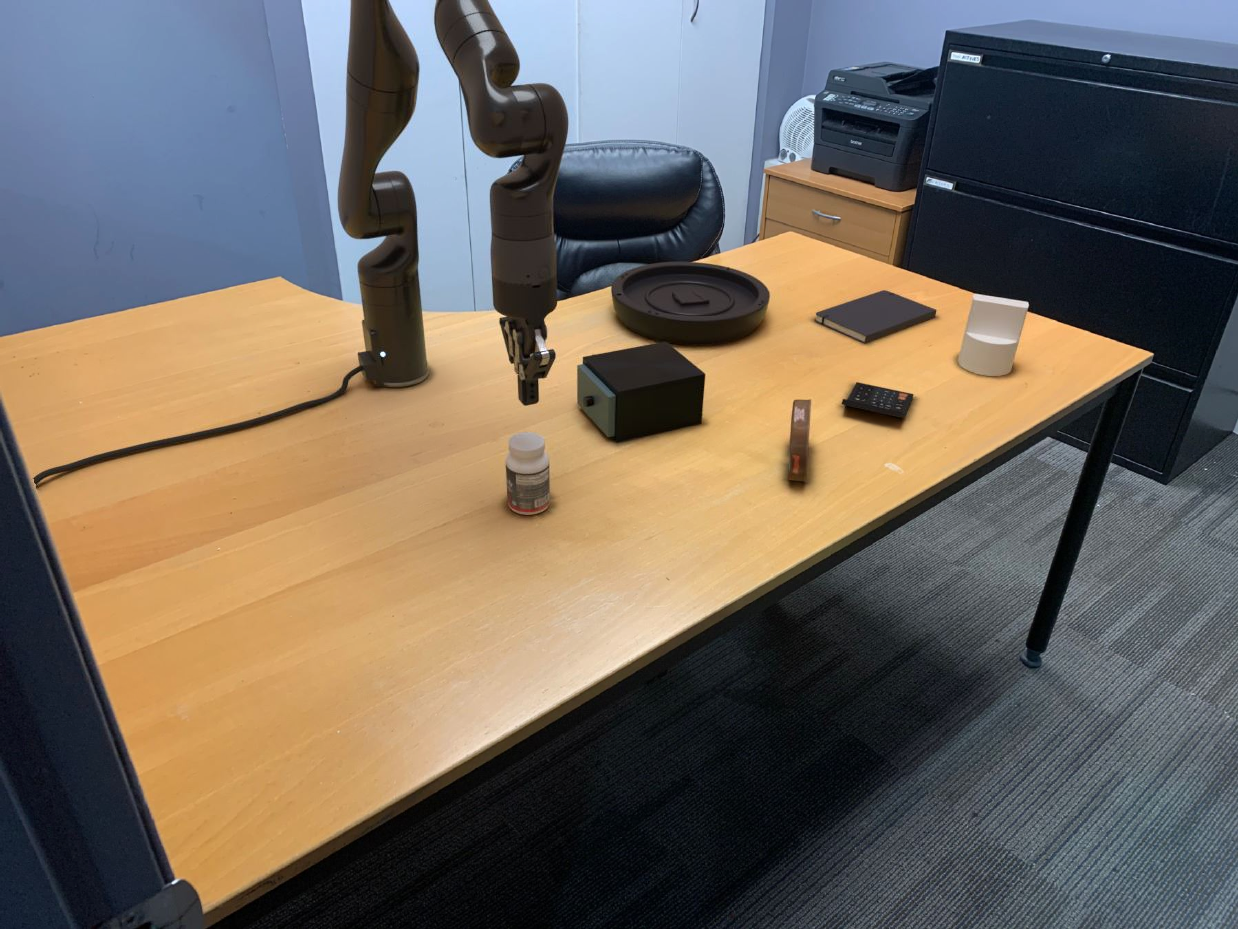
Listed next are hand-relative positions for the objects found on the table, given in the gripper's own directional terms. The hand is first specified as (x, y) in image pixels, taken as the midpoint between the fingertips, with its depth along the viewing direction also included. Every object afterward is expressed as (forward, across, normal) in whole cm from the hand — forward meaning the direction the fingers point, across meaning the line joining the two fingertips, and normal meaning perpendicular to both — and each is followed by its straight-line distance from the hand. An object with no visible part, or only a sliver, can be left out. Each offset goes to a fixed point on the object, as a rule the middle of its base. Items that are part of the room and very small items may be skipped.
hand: (528, 402), depth 116 cm
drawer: (+14, -16, +22) cm, 31 cm away
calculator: (+16, -3, +60) cm, 63 cm away
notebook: (+15, -31, +84) cm, 91 cm away
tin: (+16, +6, +38) cm, 42 cm away
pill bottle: (+16, 0, 0) cm, 16 cm away
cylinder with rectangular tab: (+16, -7, +89) cm, 90 cm away
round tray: (+15, -47, +51) cm, 71 cm away
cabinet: (+15, -16, +25) cm, 33 cm away
